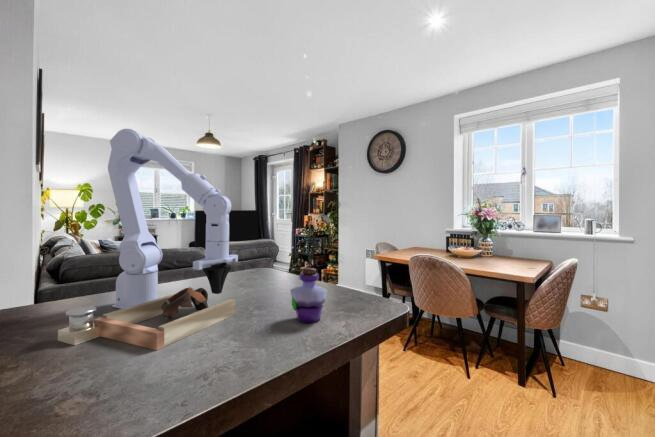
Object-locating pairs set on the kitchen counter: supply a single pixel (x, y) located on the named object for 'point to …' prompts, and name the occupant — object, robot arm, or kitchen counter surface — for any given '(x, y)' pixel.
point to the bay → (125, 329)
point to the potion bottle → (308, 297)
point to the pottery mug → (185, 301)
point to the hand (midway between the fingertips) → (216, 293)
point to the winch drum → (79, 326)
